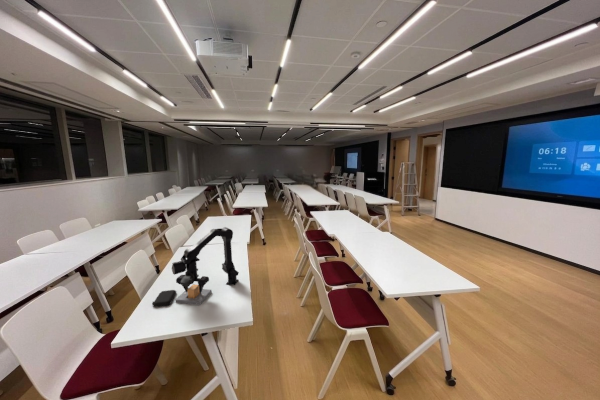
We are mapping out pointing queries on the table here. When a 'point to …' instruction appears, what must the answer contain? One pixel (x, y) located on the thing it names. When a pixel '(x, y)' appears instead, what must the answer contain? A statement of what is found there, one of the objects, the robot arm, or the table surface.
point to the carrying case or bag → (164, 298)
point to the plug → (193, 291)
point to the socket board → (198, 300)
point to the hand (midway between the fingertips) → (193, 292)
